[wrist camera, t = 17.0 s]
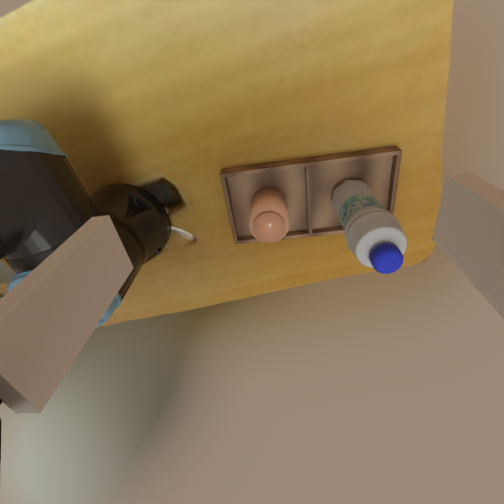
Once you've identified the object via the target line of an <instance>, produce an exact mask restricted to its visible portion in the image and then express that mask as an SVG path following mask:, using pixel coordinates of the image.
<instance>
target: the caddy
mask: <svg viewBox="0 0 504 504" xmlns="http://www.w3.org/2000/svg"><path fill="white" fill-rule="evenodd" d="M401 154H402V150H401V149H399V148H398V147H396V146H393V147H385V148H378V149H370V150H363V151H355V152H348V153H340V154H333V155H326V156H318V157H311V158H303V159H296V160H288V161H281V162H273V163H266V164H258V165H251V166H243V167H236V168H228V169H222V171H221V174H220V176H221V181H222V185H223V190H224V195H225V199H226V204H227V209H228V213H229V218H230V223H231V228H232V232H233V237H234V242H235V244H241V243H251V242H261V241H260V240H258V239H256V238H255V237H254V236H253V235H252V233H251V231H250V228H249V221H250V212H251V204H252V198H253V196H254V194H255V193H256V192H257V191H258V190H260V189H261V188H264V187H275V188H277V189H279V190H280V191H282V192H283V194H284V195H285V197H286V202H287V210H288V218H289V230H288V232H287V234H286V235H285V236H284V237H283V238H282V239H290V238H300V237H310V236H320V235H330V234H340V233H345V230H344V228H343V226H342V224H341V221H340V219H339V217H338V216H337V214H336V213H335V211H334V209H333V206H332V197H333V191H334V189H335V188H336V187H338V186H340V185H341V184H342V183H343V182H344V181H345V180H361V181H363V182H364V183H366V184H367V185H368V186H369V187H370V188H371V190H372V192H373V193H374V195H375V197H376V199H377V200H378V201H379V202H380V204H381V205H382V206H383V208H384V209H385V210H387V211H389V212H390V213H391V214H392V215H393V213H394V206H395V199H396V191H397V184H398V176H399V169H400V162H401Z"/></svg>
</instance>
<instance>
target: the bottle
mask: <svg viewBox="0 0 504 504" xmlns="http://www.w3.org/2000/svg"><path fill="white" fill-rule="evenodd" d="M332 206H333V209H334V211H335V213H336V214H337V216H338V217H339V219H340V221H341V224H342V226H343V228H344V230H345V239H346V241H347V245H348V247H349V249H350V250H351V251H352V252H353V254H354V255H355V256H356V258H357V259H358V261H359V262H360V263H361V264H363V265H365V266H367V267H371V268H374V269H375V270H376V271H378V272H380V273H386V274H388V273H392V272H395V271H396V270H398V269H399V268H400V267H401V265H402V263H403V254H404V252H405V250H406V246H407V240H406V237H405V234H404V232H403V230H402V228H401V225H400V223H399V221H398V220H397V219H396V218H395V217H394V216H393V215H392V214H391V213H390V212H389V211H387V210H385V209H384V208H383V206H382V205H381V204H380V202H379V201H378V200H377V199H376V197H375V195H374V193H373V192H372V190H371V188H370V187H369V186H368V185H367V184H366V183H364V182H363V181H361V180H345V181H344V182H343V183H342V184H341V185H340V186H338V187H336V188H335V189H334V191H333V197H332Z"/></svg>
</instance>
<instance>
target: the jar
mask: <svg viewBox="0 0 504 504" xmlns="http://www.w3.org/2000/svg"><path fill="white" fill-rule="evenodd" d="M249 228H250V231H251V233H252V235H253V236H254V237H255V238H256V239H258V240H260V241H262V242H267V243H271V242H276V241H279V240H280V239H282V238H283V237H284V236H285V235H286V234H287V232H288V230H289V218H288V210H287V202H286V197H285V195H284V194H283V192H282V191H280V190H279V189H277V188H275V187H264V188H261V189H260V190H258V191H257V192H256V193H255V194H254V196H253V198H252V204H251V212H250V221H249Z"/></svg>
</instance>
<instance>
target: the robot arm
mask: <svg viewBox="0 0 504 504" xmlns="http://www.w3.org/2000/svg"><path fill="white" fill-rule="evenodd" d="M170 232H171V226H170V221H169V218H168V215H167V213H166V211H165V210H164V208H163V207H162V205H161V204H160V203H159V202H158V201H157V200H156V199H155V198H154V197H153V196H152V195H150V194H149V193H147V192H146V191H144V190H142V189H140V188H137V187H134V186H131V185H125V184H114V185H109V186H106V187H104V188H102V189H100V190H99V191H98V192H96V193H95V194H94V195H93V196H92V197H91V198H89V196H88V194H87V193H86V191H85V189H84V187H83V186H82V184H81V182H80V181H79V179H78V177H77V175H76V174H75V172H74V170H73V169H72V167H71V165H70V163H69V162H68V160H67V155H66V154H65V153H64V152H62V151H61V149H60V148H59V146H58V145H57V143H56V142H55V140H54V139H53V137H52V135H51V134H50V132H49V131H48V130H47V128H46V127H44V126H43V125H42V124H40V123H38V122H36V121H33V120H29V119H8V120H0V259H2V258H4V259H5V261H6V262H7V263H8V264H9V265H10V266H11V268H12V269H13V270H14V271H15V272H16V275H14V276H13V278H11V280H10V283H9V284H8V287H7V291H8V293H7V294H6V295H5V296H4V297H3V298H2V299H0V404H1V403H2V402H3V403H5V404H6V405H7V406H8V407H9V408H10V409H11V410H13V411H14V412H15V413H40V412H41V411H42V409H43V408H44V406H45V405H46V403H47V402H48V400H49V399H50V397H51V395H52V394H53V392H54V391H55V389H56V388H57V386H58V385H59V383H60V381H61V380H62V378H63V377H64V375H65V374H66V372H67V371H68V369H69V368H70V366H71V364H72V363H73V361H74V360H75V358H76V357H77V355H78V354H79V352H80V350H81V349H82V347H83V346H84V344H85V343H86V341H87V340H88V338H89V336H90V335H91V333H92V332H93V330H94V329H95V328H97V327H99V326H101V325H102V324H104V323H105V322H106V321H107V320H108V319H109V317H110V316H111V314H112V313H113V312H114V310H115V309H116V308H118V307H119V305H120V303H121V301H122V299H123V297H124V296H125V294H126V292H127V290H128V289H129V287H130V285H131V284H132V282H133V280H134V278H135V277H136V275H137V273H138V272H139V270H140V268H141V266H142V265H143V264H145V263H146V262H148V261H149V260H151V259H153V258H154V257H156V256H157V255H158V254H159V253H160V252H161V251H162V250H163V249H164V247H165V245H166V244H167V242H168V240H169V237H170ZM432 240H433V241H434V242H435V243H436V244H437V245H438V247H439V248H440V249H441V250H442V251H443V252H444V253H445V254H446V255H447V256H448V258H449V259H450V260H451V261H452V262H453V263H454V264H455V265H456V266H457V267H458V269H459V270H460V271H461V272H462V273H463V274H464V275H465V276H466V277H467V279H468V280H469V281H470V282H471V283H472V284H473V285H474V286H475V287H476V288H477V290H478V291H479V292H480V293H481V294H482V295H483V296H484V297H485V298H486V299H487V300H488V302H489V303H490V304H491V305H492V306H493V307H494V308H495V310H496V311H498V313H499V314H500V315H501V316H502V317H503V318H504V191H503V190H502V189H500V188H498V187H496V186H494V185H493V184H491V183H489V182H487V181H485V180H484V179H482V178H480V177H478V176H477V175H475V174H473V173H471V172H465V173H457V174H448V175H447V177H446V182H445V186H444V190H443V195H442V199H441V203H440V208H439V212H438V216H437V221H436V225H435V229H434V234H433V238H432ZM0 459H1V419H0ZM0 461H1V460H0Z"/></svg>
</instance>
